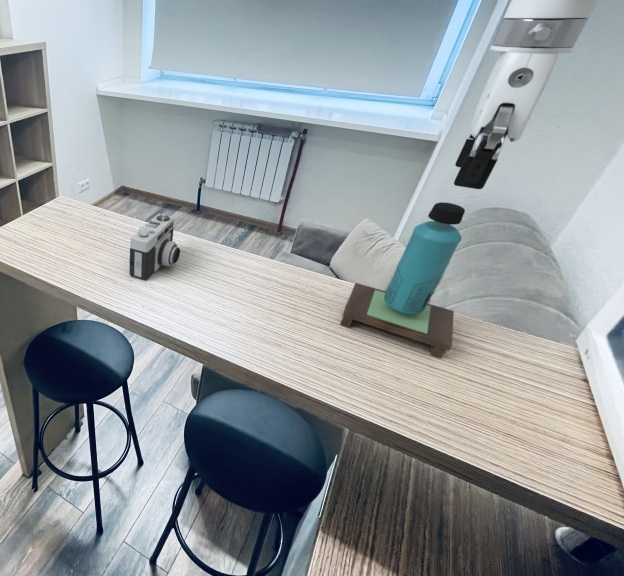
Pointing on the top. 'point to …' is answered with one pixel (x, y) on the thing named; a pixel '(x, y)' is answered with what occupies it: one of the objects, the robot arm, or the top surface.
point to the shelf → (401, 319)
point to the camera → (153, 247)
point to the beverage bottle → (425, 260)
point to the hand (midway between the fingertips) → (467, 176)
